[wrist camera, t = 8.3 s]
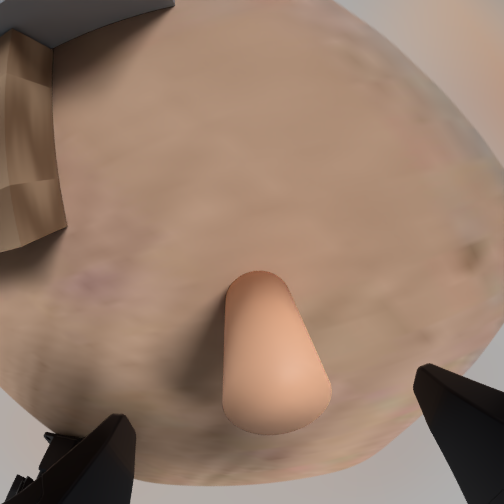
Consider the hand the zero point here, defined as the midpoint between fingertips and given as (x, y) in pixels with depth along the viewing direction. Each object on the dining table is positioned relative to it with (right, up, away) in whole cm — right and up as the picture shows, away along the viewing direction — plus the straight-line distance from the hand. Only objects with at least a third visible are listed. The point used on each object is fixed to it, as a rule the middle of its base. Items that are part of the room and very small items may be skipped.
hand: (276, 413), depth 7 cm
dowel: (0, +2, +7) cm, 7 cm away
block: (-16, +10, +4) cm, 19 cm away
